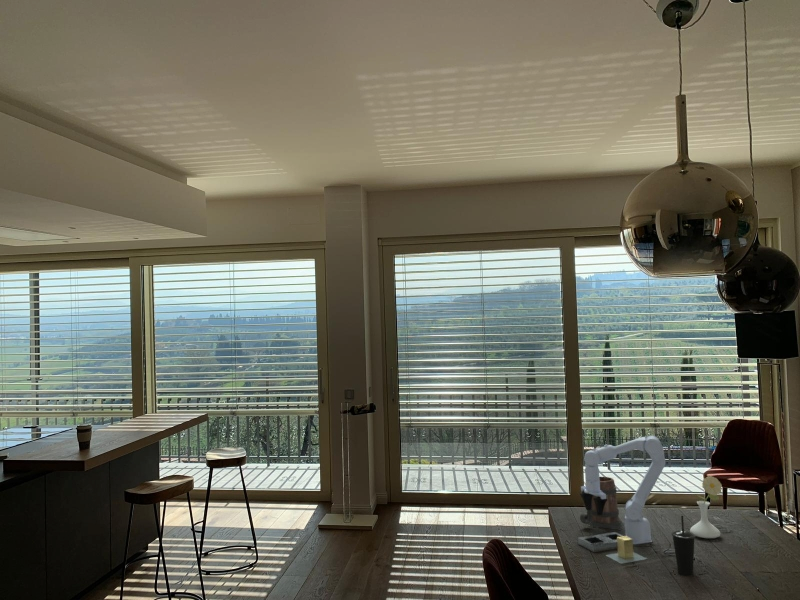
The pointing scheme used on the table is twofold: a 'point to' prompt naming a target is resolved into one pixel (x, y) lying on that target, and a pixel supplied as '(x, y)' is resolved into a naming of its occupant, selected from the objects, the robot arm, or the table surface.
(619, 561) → the pale flat rectangular plate
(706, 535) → the flower in vase
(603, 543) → the grey socket tray
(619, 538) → the beige rectangular block
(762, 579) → the table surface
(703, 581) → the table surface
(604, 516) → the tankard
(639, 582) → the table surface
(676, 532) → the drinking cup
